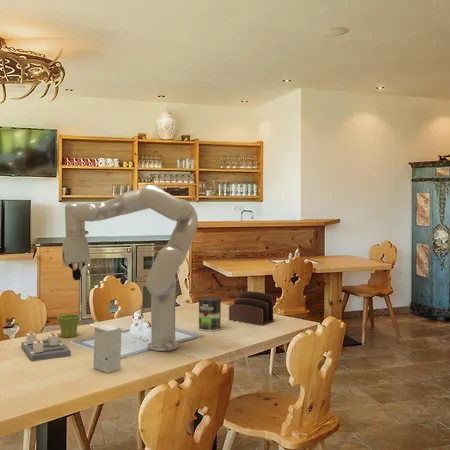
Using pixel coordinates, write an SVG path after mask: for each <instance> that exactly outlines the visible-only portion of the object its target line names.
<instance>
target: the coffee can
mask: <svg viewBox="0 0 450 450" xmlns="http://www.w3.org/2000/svg"><path fill="white" fill-rule="evenodd" d="M221 315H222V298H221V297H218V296H202V297H198V330H199V331H201V332H217V331H220V330H221V329H222V327H221V326H222V323H221V322H222V317H221Z"/></svg>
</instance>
